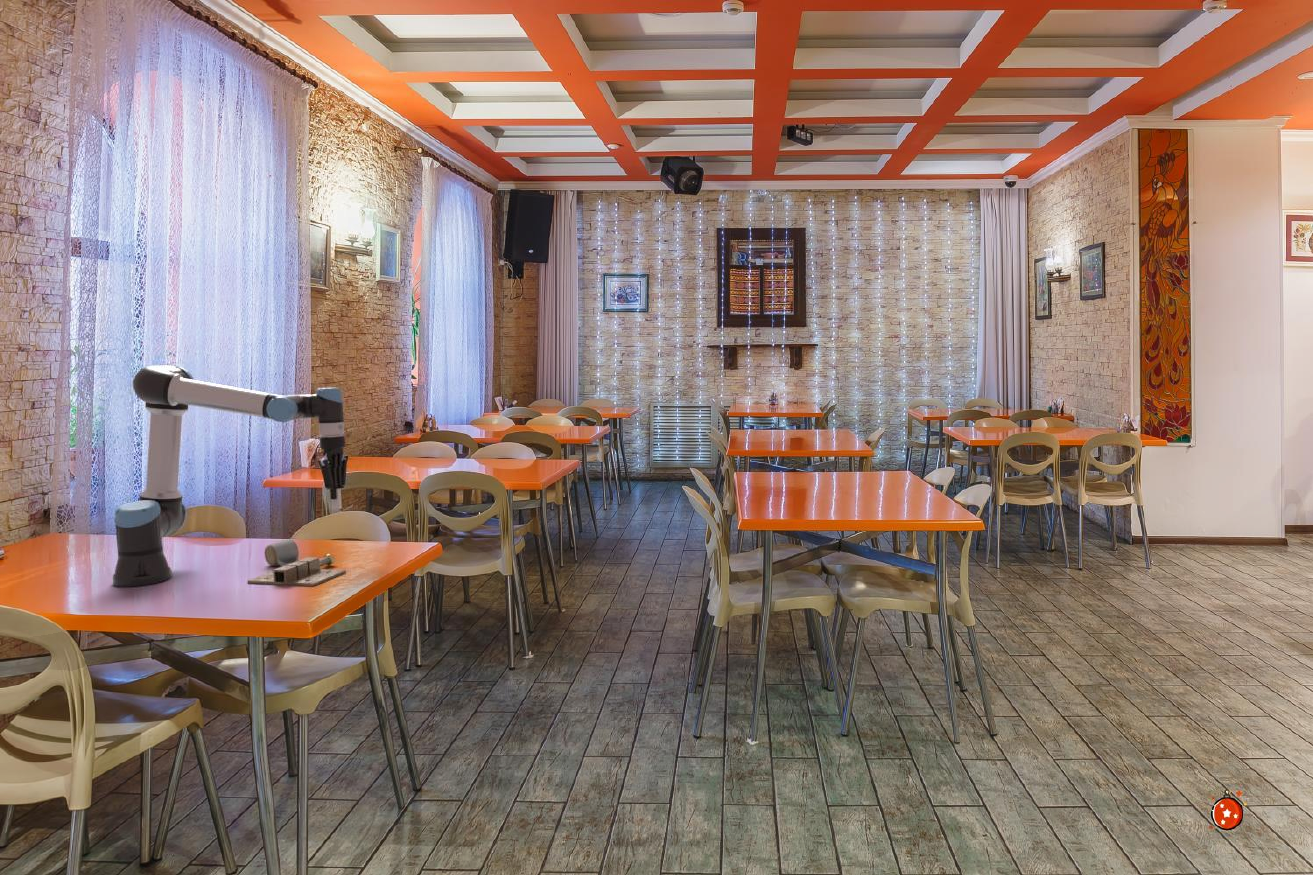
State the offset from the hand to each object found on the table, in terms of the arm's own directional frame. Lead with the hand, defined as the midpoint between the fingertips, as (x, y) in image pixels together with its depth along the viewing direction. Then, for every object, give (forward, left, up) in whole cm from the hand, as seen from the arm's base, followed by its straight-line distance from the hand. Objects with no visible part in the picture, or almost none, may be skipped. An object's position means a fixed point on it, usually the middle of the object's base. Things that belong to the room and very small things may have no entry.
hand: (336, 508), depth 274 cm
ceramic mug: (-16, -6, -18) cm, 24 cm away
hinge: (0, -21, -17) cm, 27 cm away
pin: (0, -14, -17) cm, 22 cm away
